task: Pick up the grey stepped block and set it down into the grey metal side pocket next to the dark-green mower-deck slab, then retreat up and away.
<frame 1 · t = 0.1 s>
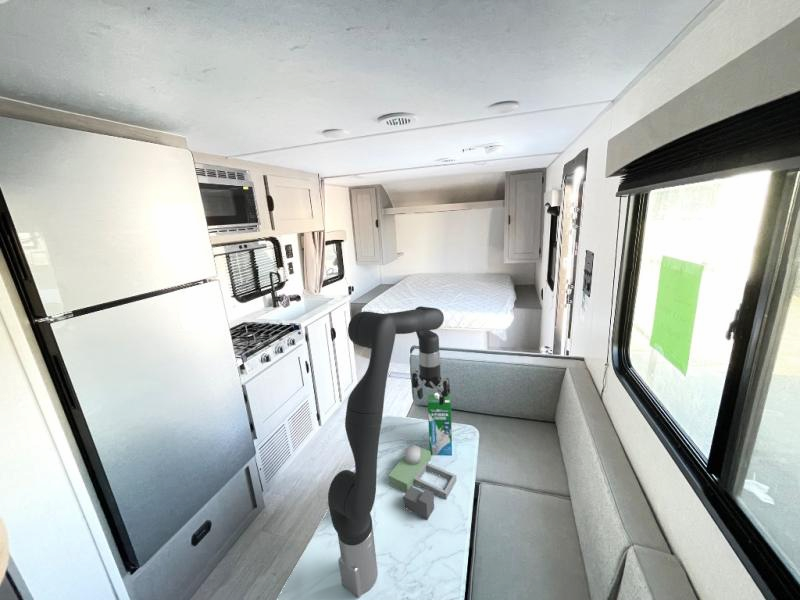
hand: (431, 401, 116), 29 cm above the table, fingers open, 8 cm apart
grey stepped block: (419, 508, 106), on the table
deck: (435, 482, 116), on the table
beer glass: (360, 515, 105), on the table
milk carton: (440, 447, 133), on the table
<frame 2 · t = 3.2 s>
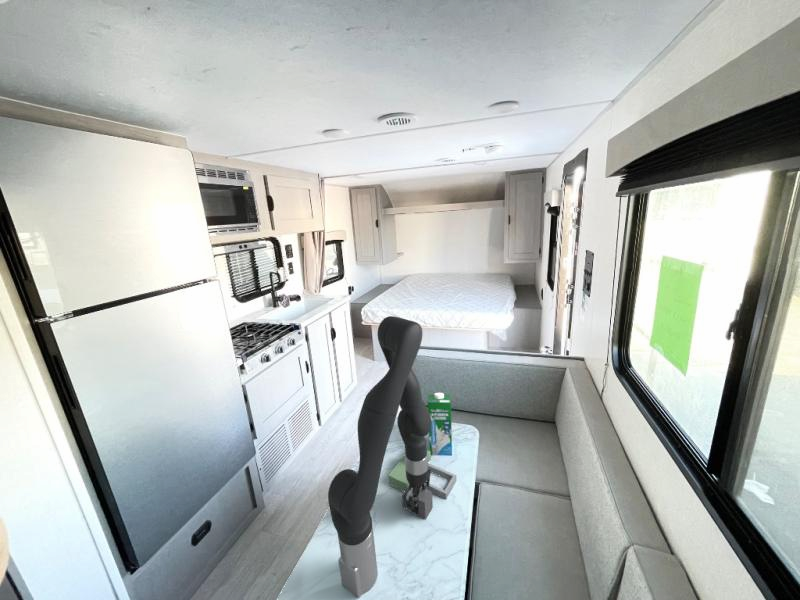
hand: (419, 505, 106), 1 cm above the table, fingers closed on grey stepped block, 4 cm apart
grey stepped block: (417, 507, 107), on the table, touching gripper
everything else where it was.
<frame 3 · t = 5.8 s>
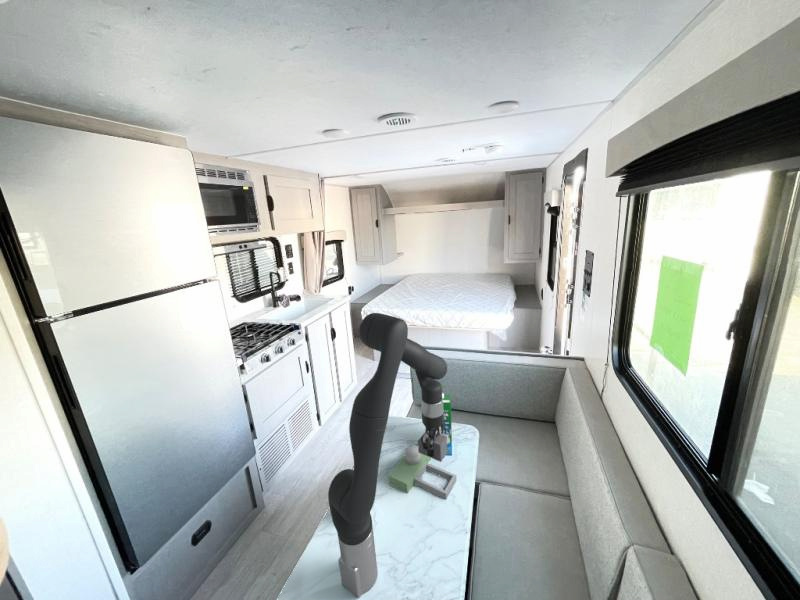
hand: (434, 451, 112), 14 cm above the table, fingers closed on grey stepped block, 4 cm apart
grey stepped block: (432, 452, 113), point 13 cm above the table, touching gripper
everything else where it was.
when the fingers open (4 cm above the table, at t = 8.4 s): grey stepped block drops 3 cm, resting in deck.
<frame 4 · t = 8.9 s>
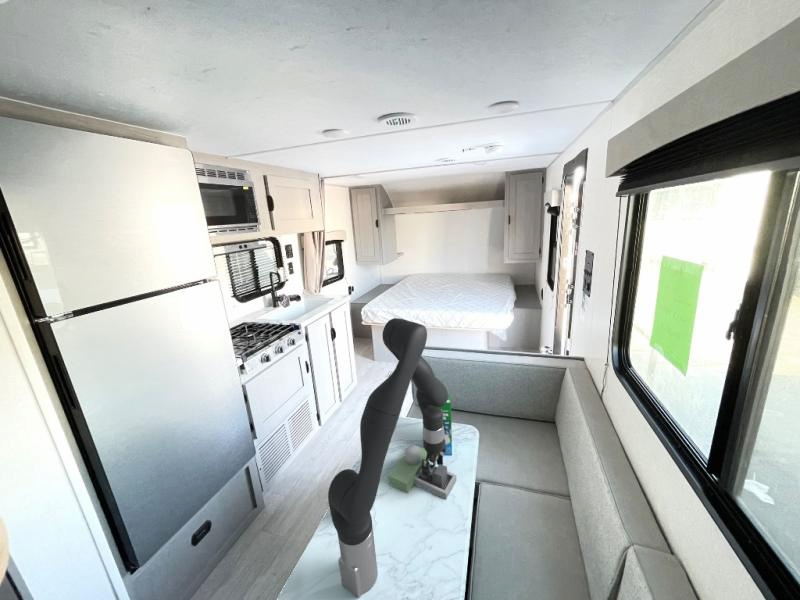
hand: (434, 472, 115), 4 cm above the table, fingers open, 8 cm apart
grey stepped block: (433, 482, 116), resting in deck
everything else where it was.
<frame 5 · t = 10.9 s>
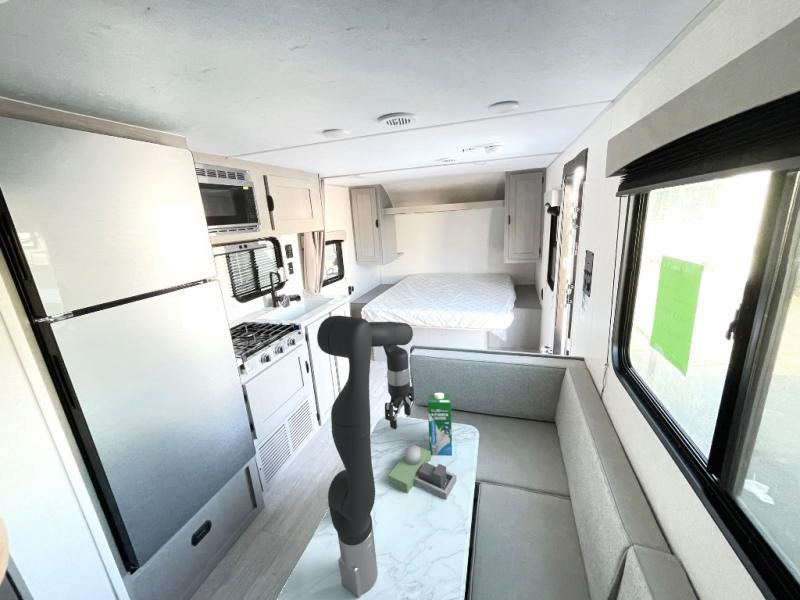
hand: (400, 421, 109), 27 cm above the table, fingers open, 8 cm apart
nothing on the table moved.
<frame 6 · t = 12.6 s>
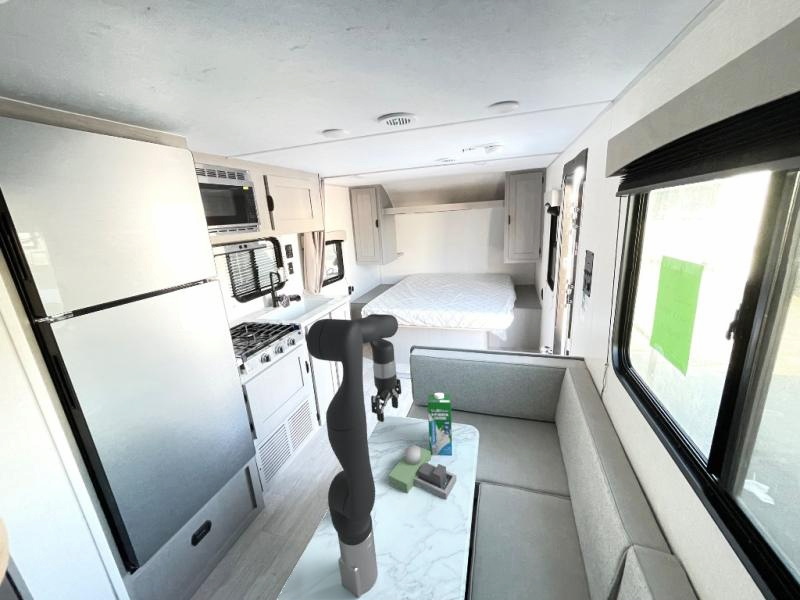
hand: (388, 413, 108), 30 cm above the table, fingers open, 8 cm apart
nothing on the table moved.
at the end: grey stepped block 1.0 cm off-centre on the deck, point 0.0 cm above the deck's base; grey stepped block tilted 0°; the gripper is holding nothing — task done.
